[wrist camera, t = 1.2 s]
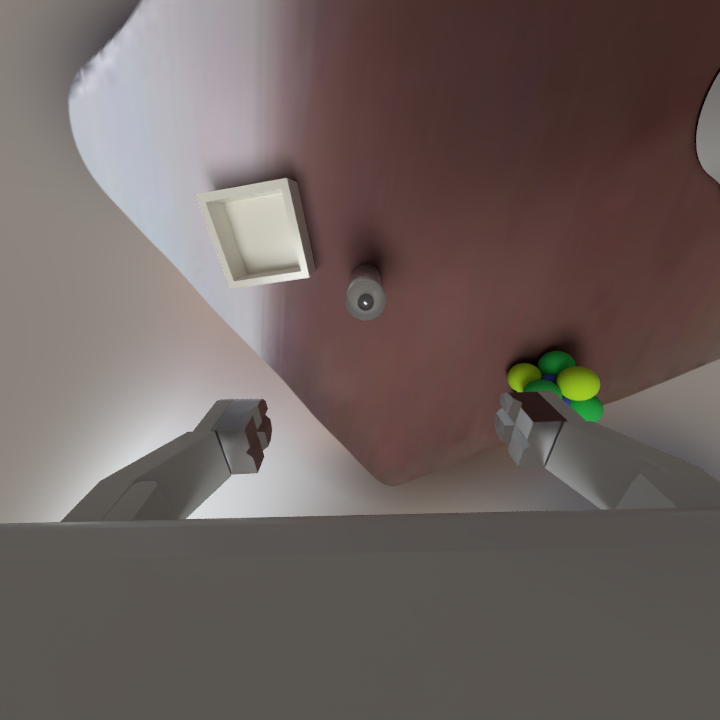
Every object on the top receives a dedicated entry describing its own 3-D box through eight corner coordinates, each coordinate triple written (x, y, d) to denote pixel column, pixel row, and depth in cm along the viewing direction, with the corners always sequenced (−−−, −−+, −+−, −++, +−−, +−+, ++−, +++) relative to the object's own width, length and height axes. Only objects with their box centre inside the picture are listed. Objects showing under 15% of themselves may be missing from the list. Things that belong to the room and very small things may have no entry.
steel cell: (379, 262, 34) (383, 279, 26) (382, 293, 36) (387, 319, 27) (348, 266, 35) (342, 285, 26) (353, 297, 37) (348, 324, 28)
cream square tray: (297, 182, 30) (286, 177, 26) (315, 270, 35) (309, 277, 31) (216, 196, 31) (194, 194, 27) (244, 280, 36) (229, 289, 32)
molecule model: (560, 340, 39) (499, 364, 41) (608, 372, 31) (530, 400, 33) (568, 386, 43) (512, 406, 45) (613, 424, 35) (542, 446, 37)
